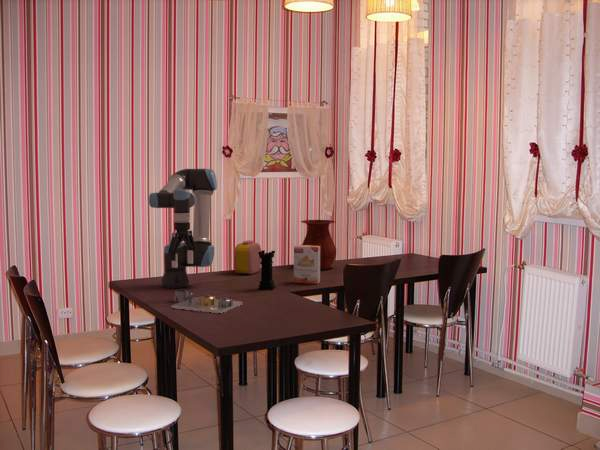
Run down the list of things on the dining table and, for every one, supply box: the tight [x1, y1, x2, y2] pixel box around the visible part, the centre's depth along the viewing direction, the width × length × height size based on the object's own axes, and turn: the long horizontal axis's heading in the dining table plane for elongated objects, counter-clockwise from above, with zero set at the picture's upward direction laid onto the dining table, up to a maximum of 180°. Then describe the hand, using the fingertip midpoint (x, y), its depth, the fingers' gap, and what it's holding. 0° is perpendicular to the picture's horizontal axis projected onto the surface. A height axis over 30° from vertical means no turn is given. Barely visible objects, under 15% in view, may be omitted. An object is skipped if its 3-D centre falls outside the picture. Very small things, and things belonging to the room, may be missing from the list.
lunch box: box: [233, 240, 262, 275], centre depth 395 cm, size 18×11×19 cm, turn 162°
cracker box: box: [293, 244, 321, 285], centre depth 363 cm, size 14×6×21 cm, turn 77°
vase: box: [300, 219, 337, 271], centre depth 413 cm, size 23×24×30 cm
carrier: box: [171, 292, 243, 314], centre depth 304 cm, size 26×20×6 cm
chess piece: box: [257, 249, 277, 291], centre depth 347 cm, size 8×8×20 cm
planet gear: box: [173, 288, 190, 303], centre depth 317 cm, size 8×8×5 cm
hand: (182, 265), depth 316 cm, fingers open, 13 cm apart
